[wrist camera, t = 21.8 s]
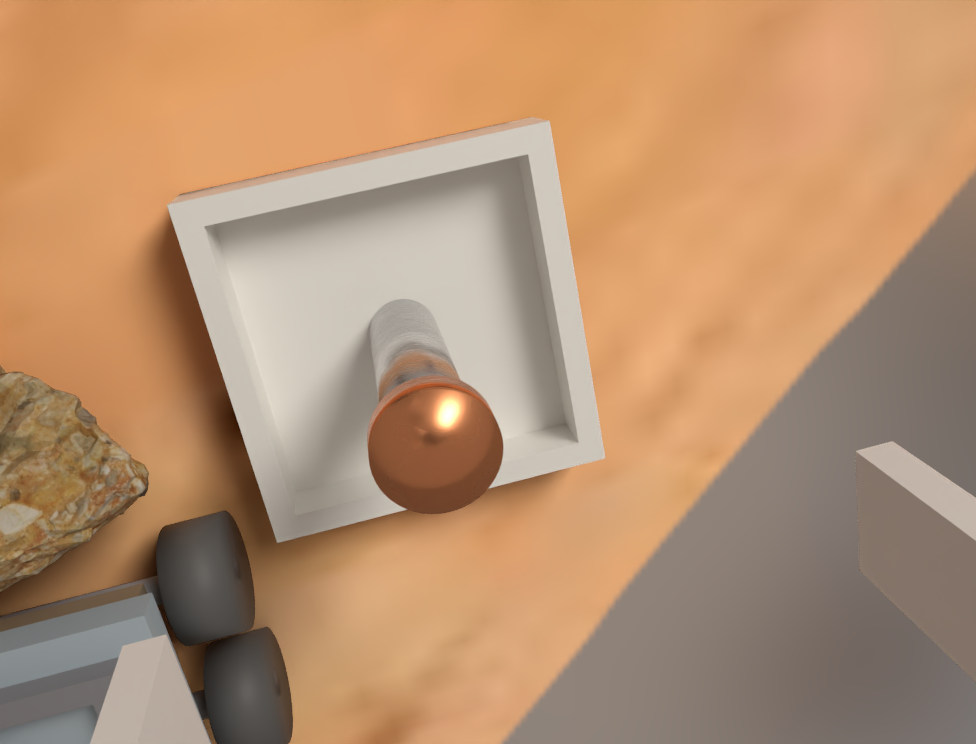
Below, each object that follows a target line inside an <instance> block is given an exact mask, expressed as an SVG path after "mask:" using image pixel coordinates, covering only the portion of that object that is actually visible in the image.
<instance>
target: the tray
mask: <svg viewBox="0 0 976 744" xmlns="http://www.w3.org/2000/svg"><path fill="white" fill-rule="evenodd" d="M167 207H168V210H169V213H170V216H171V219H172V222H173V225H174V228H175V231H176V235H177V238H178V241H179V244H180V247H181V250H182V253H183V256H184V259H185V262H186V265H187V268H188V271H189V274H190V277H191V280H192V284H193V287H194V290H195V293H196V296H197V299H198V302H199V305H200V308H201V311H202V314H203V317H204V320H205V323H206V326H207V329H208V332H209V336H210V339H211V342H212V345H213V348H214V351H215V354H216V357H217V360H218V363H219V366H220V369H221V372H222V375H223V378H224V381H225V385H226V388H227V391H228V394H229V397H230V400H231V403H232V406H233V409H234V412H235V415H236V418H237V421H238V424H239V427H240V430H241V434H242V437H243V440H244V443H245V446H246V449H247V452H248V455H249V458H250V461H251V464H252V467H253V470H254V473H255V476H256V479H257V482H258V486H259V489H260V492H261V495H262V498H263V501H264V504H265V507H266V510H267V513H268V516H269V519H270V522H271V525H272V528H273V531H274V535H275V538H276V541H277V543H280V542H284V541H288V540H291V539H295V538H299V537H303V536H307V535H311V534H315V533H319V532H322V531H326V530H330V529H334V528H338V527H342V526H346V525H349V524H353V523H357V522H361V521H365V520H369V519H373V518H376V517H380V516H384V515H388V514H392V513H396V512H400V511H404V510H407V509H405V508H403V507H401V506H399V505H397V504H396V503H394V502H393V501H391V500H390V499H389V498H388V497H387V496H386V495H385V494H384V493H383V492H382V491H381V490H380V488H379V487H378V485H377V484H376V482H375V480H374V478H373V476H372V473H371V469H370V465H369V457H368V447H367V431H368V425H369V422H370V418H371V416H372V414H373V412H374V410H375V408H376V407H377V405H378V404H379V399H378V392H377V385H376V378H375V371H374V364H373V357H372V350H371V343H370V336H369V329H370V324H371V321H372V318H373V316H374V315H375V313H376V312H377V311H378V310H379V309H380V308H381V307H382V306H383V305H385V304H387V303H388V302H391V301H394V300H398V299H410V300H414V301H417V302H419V303H421V304H423V305H424V306H426V307H427V308H428V309H429V310H430V312H431V313H432V314H433V316H434V318H435V320H436V323H437V325H438V327H439V330H440V332H441V335H442V337H443V339H444V342H445V344H446V347H447V349H448V351H449V354H450V356H451V359H452V361H453V363H454V366H455V368H456V371H457V373H458V375H459V378H460V380H461V381H463V382H465V383H467V384H468V385H470V386H472V387H473V388H474V389H476V390H477V391H478V392H479V393H480V394H481V395H482V396H483V397H484V399H485V400H486V401H487V403H488V405H489V406H490V408H491V410H492V412H493V414H494V417H495V419H496V421H497V423H498V425H499V428H500V430H501V434H502V438H503V458H502V463H501V466H500V469H499V472H498V474H497V476H496V478H495V479H494V481H493V483H492V484H491V485H490V487H489V488H492V487H496V486H500V485H504V484H508V483H512V482H516V481H519V480H523V479H527V478H531V477H535V476H539V475H543V474H546V473H550V472H554V471H558V470H562V469H566V468H570V467H574V466H577V465H581V464H585V463H589V462H593V461H597V460H601V459H604V458H605V454H604V448H603V441H602V435H601V429H600V423H599V417H598V411H597V405H596V399H595V393H594V387H593V381H592V375H591V369H590V363H589V357H588V351H587V345H586V338H585V332H584V326H583V320H582V314H581V308H580V302H579V296H578V290H577V284H576V278H575V272H574V266H573V260H572V254H571V248H570V242H569V235H568V229H567V223H566V217H565V211H564V205H563V199H562V193H561V187H560V181H559V175H558V169H557V163H556V157H555V151H554V145H553V139H552V132H551V126H550V121H548V120H544V119H539V118H534V117H530V118H525V119H521V120H516V121H511V122H507V123H502V124H498V125H493V126H489V127H484V128H480V129H475V130H470V131H466V132H461V133H457V134H452V135H448V136H443V137H439V138H434V139H429V140H425V141H420V142H416V143H411V144H407V145H402V146H398V147H393V148H388V149H384V150H379V151H375V152H370V153H366V154H361V155H357V156H352V157H347V158H343V159H338V160H334V161H329V162H325V163H320V164H315V165H311V166H306V167H302V168H297V169H293V170H288V171H284V172H279V173H274V174H270V175H265V176H261V177H256V178H252V179H247V180H243V181H238V182H233V183H229V184H224V185H220V186H215V187H211V188H206V189H202V190H197V191H192V192H188V193H183V194H180V195H179V196H178V197H176V198H175V199H174V200H173V201H171V202H170V203H169V204H168V205H167ZM489 488H488V489H489Z"/></svg>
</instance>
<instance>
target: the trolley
mask: <svg viewBox="0 0 976 744" xmlns="http://www.w3.org/2000/svg"><path fill="white" fill-rule="evenodd" d="M156 561H157V574H158V575H157V576H153V577H149V578H146V579H142V580H138V581H134V582H130V583H126V584H122V585H119V586H115V587H111V588H107V589H103V590H99V591H95V592H92V593H88V594H84V595H80V596H76V597H72V598H68V599H65V600H61V601H57V602H53V603H49V604H45V605H41V606H37V607H34V608H30V609H26V610H22V611H18V612H14V613H10V614H7V615H3V616H0V744H90V742H91V739H92V736H93V733H94V730H95V727H96V724H97V721H98V718H99V715H100V712H101V709H102V706H103V703H104V700H105V697H106V694H107V691H108V688H109V685H110V682H111V679H112V676H113V673H114V670H115V667H116V664H117V661H118V658H119V655H120V652H121V649H122V646H124V645H128V644H132V643H135V642H139V641H143V640H147V639H150V638H154V637H158V636H162V635H165V634H167V637H168V639H169V642H170V644H171V647H172V649H173V652H174V654H175V657H176V659H177V662H178V664H179V666H180V669H181V671H182V674H183V676H184V679H185V681H186V684H187V686H188V689H189V691H190V694H191V696H192V699H193V701H194V704H195V706H196V709H197V711H198V714H199V716H200V719H201V721H202V724H203V726H204V723H203V720H204V719H207V718H209V721H210V725H211V728H212V731H213V735H214V737H215V740H216V742H217V744H288V743H289V742H290V740H291V737H292V729H293V714H292V702H291V694H290V687H289V682H288V676H287V672H286V667H285V664H284V660H283V656H282V653H281V650H280V647H279V644H278V642H277V640H276V637H275V635H274V634H273V632H272V631H271V629H269V628H268V627H265V628H261V629H257V630H253V631H250V632H246V633H242V634H238V633H241V632H245V631H249V630H250V629H251V628H252V626H253V623H254V617H255V597H254V587H253V580H252V574H251V569H250V564H249V560H248V556H247V552H246V548H245V545H244V542H243V539H242V536H241V534H240V531H239V529H238V527H237V524H236V522H235V521H234V519H233V517H232V516H231V515H230V514H229V513H228V512H227V511H222V512H218V513H214V514H210V515H206V516H202V517H198V518H194V519H190V520H186V521H182V522H178V523H174V524H170V525H166V526H164V527H163V528H162V529H161V531H160V533H159V537H158V541H157V552H156ZM159 605H164V609H165V612H166V615H167V618H168V620H169V623H170V625H171V627H172V629H173V631H174V633H175V635H176V636H177V638H178V639H179V641H180V642H181V643H182V644H184V645H185V646H193V645H196V644H200V643H204V642H208V641H211V640H215V639H219V638H223V637H226V636H230V635H234V634H238V635H235V636H231V637H227V638H223V639H220V640H216V641H212V642H210V643H209V645H208V646H207V649H206V652H205V657H204V670H203V675H204V690H201V691H197V692H194V693H191V690H190V688H189V685H188V682H187V680H186V677H185V675H184V672H183V670H182V667H181V665H180V662H179V660H178V657H177V655H176V652H175V650H174V647H173V645H172V642H171V639H170V637H169V634H168V632H167V629H166V627H165V624H164V622H163V619H162V617H161V614H160V612H159V609H158V607H157V606H159ZM204 729H205V731H206V728H205V726H204ZM206 733H207V731H206ZM207 736H208V733H207ZM208 738H209V736H208ZM209 741H210V738H209ZM210 743H211V741H210ZM211 744H212V743H211Z"/></svg>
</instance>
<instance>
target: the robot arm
mask: <svg viewBox="0 0 976 744" xmlns="http://www.w3.org/2000/svg"><path fill="white" fill-rule="evenodd" d="M856 478H857V479H856V481H857V511H858V540H859V570H860V571H861V572H862V573H863V574H864V575H865V576H866V577H867V578H868V579H869V580H870V581H871V582H872V583H873V584H874V585H875V586H876V587H877V588H878V589H879V590H881V591H882V592H883V593H884V594H885V595H886V596H887V597H888V598H889V599H890V600H891V601H892V602H893V603H894V604H895V605H896V606H897V607H898V608H899V609H900V610H901V611H902V612H903V613H904V614H906V616H908V617H909V618H910V619H911V620H912V621H913V622H914V623H915V624H916V625H917V626H918V627H919V628H920V629H921V630H922V631H923V632H924V633H925V634H926V635H927V636H928V637H929V638H931V640H933V641H934V642H935V643H936V644H937V645H938V646H939V647H940V648H941V649H942V650H943V651H944V652H945V653H946V654H947V655H948V656H949V657H950V658H951V659H952V660H953V661H954V662H955V663H957V665H959V666H960V667H961V668H962V669H963V670H964V671H965V672H966V673H967V674H968V675H969V676H970V677H971V678H972V679H973V680H974V681H976V498H975V497H974V496H972V495H971V494H969V493H968V492H966V491H965V490H963V489H961V488H960V487H959V486H957V485H956V484H954V483H953V482H952V481H950V480H949V479H947V478H946V477H944V476H943V475H941V474H940V473H938V472H937V471H935V470H934V469H932V468H931V467H929V466H928V465H926V464H925V463H924V462H922V461H921V460H919V459H918V458H916V457H915V456H913V455H912V454H910V453H909V452H907V451H906V450H904V449H903V448H901V447H900V446H899V445H897V444H896V443H894V442H888V443H884V444H881V445H877V446H873V447H869V448H865V449H862V450H858V451H856ZM90 744H211V743H210V741H209V738H208V736H207V733H206V731H205V729H204V726H203V724H202V721H201V719H200V716H199V714H198V711H197V709H196V706H195V704H194V701H193V699H192V696H191V694H190V691H189V689H188V686H187V684H186V681H185V679H184V676H183V674H182V671H181V669H180V666H179V664H178V662H177V659H176V657H175V654H174V652H173V649H172V647H171V644H170V642H169V639H168V637H167V634H165V635H162V636H158V637H154V638H150V639H147V640H143V641H139V642H135V643H132V644H128V645H124V646H122V649H121V652H120V655H119V658H118V661H117V664H116V667H115V670H114V673H113V676H112V679H111V682H110V685H109V688H108V691H107V694H106V697H105V700H104V703H103V706H102V709H101V712H100V715H99V718H98V721H97V724H96V727H95V730H94V733H93V736H92V739H91V742H90Z"/></svg>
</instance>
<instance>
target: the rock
mask: <svg viewBox="0 0 976 744" xmlns="http://www.w3.org/2000/svg"><path fill="white" fill-rule="evenodd" d="M148 475H149V473H148V471H147V469H146V467H145V465H144V464H142V463H140V462H138V461H136V460H134V459H132V458H131V455H130V454H129V453H128V452H127V451H126V450H125V449H124V448H122V447H121V446H120V445H119V444H117V443H116V442H115V441H113V440H112V439H111V438H110V437H109V435H108V434H107V433H105V432H104V431H103V430H101V428H100V427H99V426H98V425H97V422H96V418H95V417H94V416H92V415H91V414H90V413H89V412H88V411H87V410H86V409H84V408H83V407H81V401H80V400H79V398H78V397H77V396H75V395H72V394H69V393H66V392H63V391H59V390H55V389H53V388H51V387H50V386H48V385H47V384H45V383H44V382H43V381H41V380H40V379H38V378H35V377H32V376H28V375H26V374H24V373H23V372H10V373H5V371H4V370H3V369H2V367H1V366H0V592H1V591H3V590H5V589H6V588H8V587H9V586H11V585H13V584H14V583H16V582H18V581H20V580H22V579H24V578H26V577H29V576H34V575H36V574H38V573H39V572H40V571H41V570H43V569H44V568H45V567H47V566H48V565H50V564H52V563H54V562H55V561H56V560H58V559H59V558H60V557H61V556H63V555H64V554H65V553H66V552H67V551H68V550H71V549H74V548H76V547H77V546H79V545H80V544H82V543H85V542H87V541H90V539H91V536H92V535H94V534H95V533H96V532H97V530H98V529H99V528H101V527H102V526H104V525H105V524H107V523H108V522H110V521H111V520H113V519H114V518H116V517H117V516H118V515H121V514H123V513H124V511H125V510H126V509H127V508H129V507H130V506H131V505H132V504H133V503H134V502H135V501H136V500H137V499H138V497H141V496H145V494H146V492H147V489H148V484H149V483H148Z"/></svg>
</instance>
